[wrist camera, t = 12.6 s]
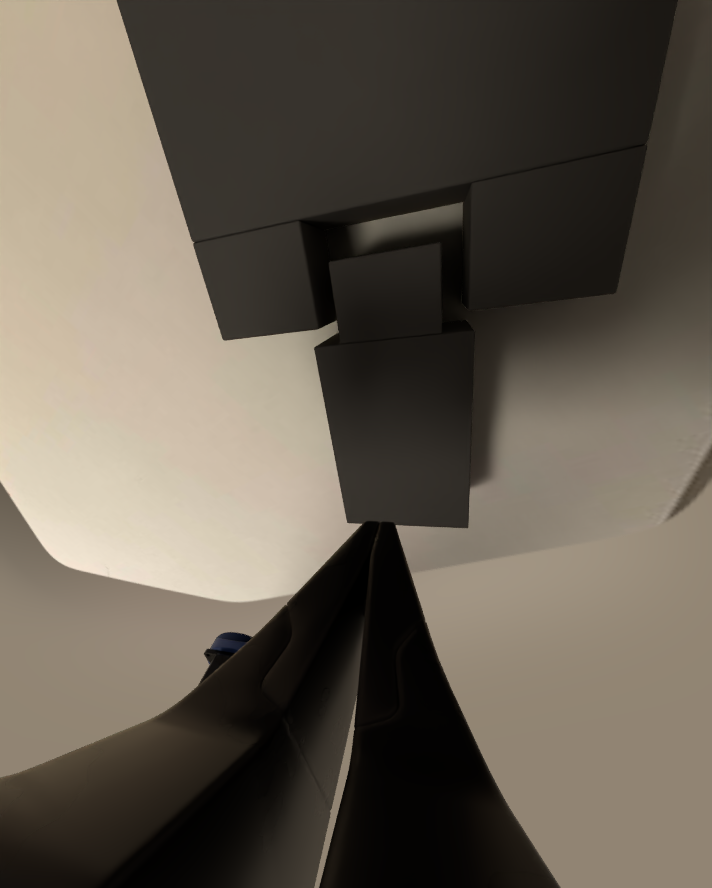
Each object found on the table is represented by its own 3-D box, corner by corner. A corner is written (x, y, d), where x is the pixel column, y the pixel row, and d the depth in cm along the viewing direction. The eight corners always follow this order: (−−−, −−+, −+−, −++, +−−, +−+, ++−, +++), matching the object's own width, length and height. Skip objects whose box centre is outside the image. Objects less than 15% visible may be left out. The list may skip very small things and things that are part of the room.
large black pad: (722, -590, 6) (957, -1300, 3) (577, 289, 12) (616, 293, 10) (120, -188, 9) (-1, -368, 7) (257, 330, 16) (222, 341, 13)
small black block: (468, 243, 12) (478, 235, 10) (463, 491, 17) (468, 528, 15) (323, 268, 14) (298, 266, 11) (358, 489, 19) (347, 523, 16)
